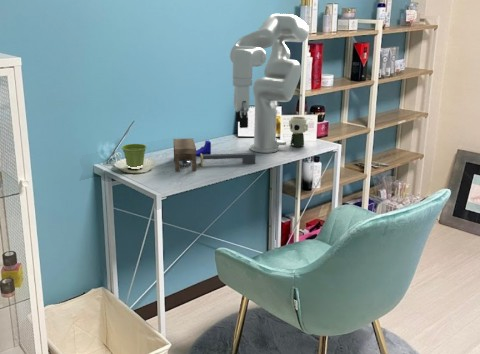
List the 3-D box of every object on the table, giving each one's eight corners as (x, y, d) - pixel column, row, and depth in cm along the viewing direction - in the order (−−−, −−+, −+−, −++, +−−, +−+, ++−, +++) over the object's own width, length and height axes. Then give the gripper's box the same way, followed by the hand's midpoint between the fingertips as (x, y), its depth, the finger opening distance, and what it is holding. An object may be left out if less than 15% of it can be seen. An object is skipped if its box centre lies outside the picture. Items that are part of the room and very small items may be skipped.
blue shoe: (207, 152, 236) (207, 139, 234) (210, 155, 232) (210, 142, 230) (180, 155, 233) (180, 141, 231) (183, 158, 228) (183, 144, 227)
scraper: (253, 161, 225) (253, 151, 224) (255, 164, 221) (256, 155, 219) (200, 162, 222) (200, 153, 221) (201, 166, 217) (201, 157, 216)
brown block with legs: (193, 159, 226) (193, 138, 223) (196, 170, 212) (196, 148, 209) (173, 159, 225) (173, 138, 222) (175, 171, 211) (175, 149, 208)
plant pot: (121, 165, 217) (119, 144, 214) (144, 163, 220) (143, 142, 217) (125, 172, 209) (124, 151, 206) (149, 170, 212) (148, 148, 209)
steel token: (190, 163, 222) (190, 158, 221) (191, 167, 217) (191, 162, 216) (178, 163, 221) (178, 159, 220) (178, 167, 216) (178, 163, 215)
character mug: (283, 144, 250) (284, 116, 246) (293, 142, 255) (294, 114, 250) (301, 149, 243) (302, 121, 238) (311, 147, 247) (313, 118, 243)
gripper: (229, 77, 219) (229, 119, 225) (235, 85, 203) (235, 130, 208) (248, 77, 220) (247, 119, 226) (255, 85, 204) (254, 129, 209)
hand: (241, 124), depth 217 cm, fingers open, 9 cm apart
